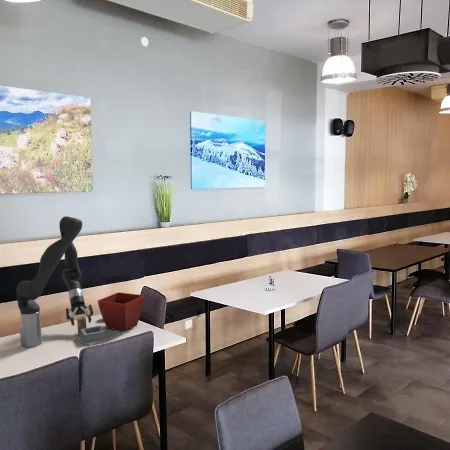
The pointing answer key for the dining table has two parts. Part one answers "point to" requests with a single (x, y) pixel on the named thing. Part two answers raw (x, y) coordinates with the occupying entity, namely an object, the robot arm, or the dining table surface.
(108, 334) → the well board
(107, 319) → the plant pot
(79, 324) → the walnut post
